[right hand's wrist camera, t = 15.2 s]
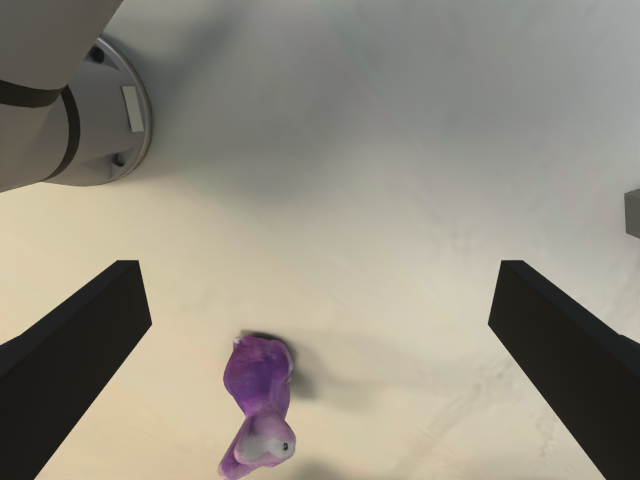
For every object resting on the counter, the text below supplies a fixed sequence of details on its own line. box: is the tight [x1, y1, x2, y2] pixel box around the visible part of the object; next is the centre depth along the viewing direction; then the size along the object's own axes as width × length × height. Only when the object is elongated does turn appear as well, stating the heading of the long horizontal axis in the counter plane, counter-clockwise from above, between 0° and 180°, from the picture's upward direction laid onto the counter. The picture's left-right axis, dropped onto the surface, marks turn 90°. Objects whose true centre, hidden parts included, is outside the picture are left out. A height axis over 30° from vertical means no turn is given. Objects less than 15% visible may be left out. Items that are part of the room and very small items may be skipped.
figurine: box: [217, 335, 296, 480], centre depth 40 cm, size 9×10×15 cm
